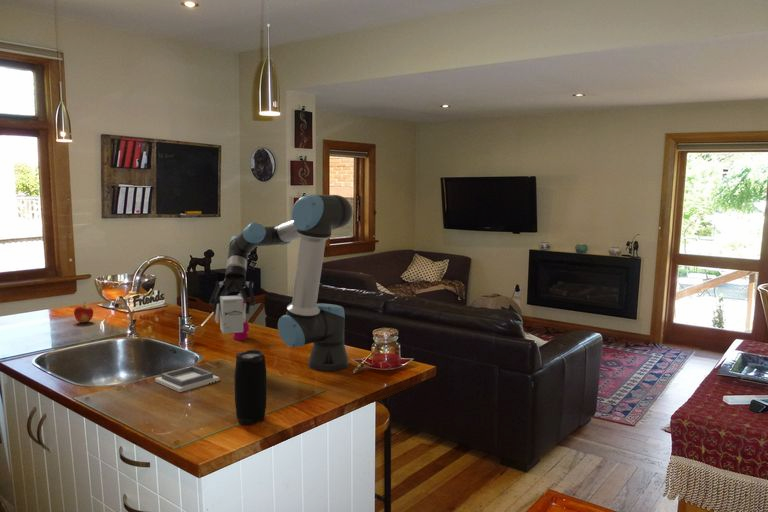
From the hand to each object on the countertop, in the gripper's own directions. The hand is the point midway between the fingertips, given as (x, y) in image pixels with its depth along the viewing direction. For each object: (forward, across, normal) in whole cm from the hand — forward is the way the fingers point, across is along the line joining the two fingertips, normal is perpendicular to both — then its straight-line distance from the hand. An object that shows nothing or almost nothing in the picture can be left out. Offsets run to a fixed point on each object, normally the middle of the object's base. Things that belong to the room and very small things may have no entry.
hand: (230, 320), depth 202 cm
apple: (-41, +81, -66) cm, 112 cm away
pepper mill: (-18, +3, -44) cm, 48 cm away
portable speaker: (+45, -13, +18) cm, 50 cm away
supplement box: (+1, 0, -6) cm, 6 cm away
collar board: (+21, +13, -5) cm, 25 cm away
